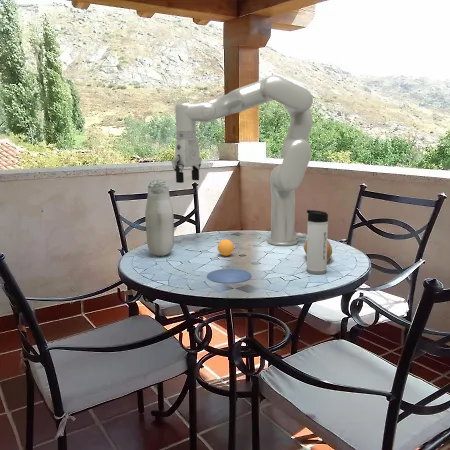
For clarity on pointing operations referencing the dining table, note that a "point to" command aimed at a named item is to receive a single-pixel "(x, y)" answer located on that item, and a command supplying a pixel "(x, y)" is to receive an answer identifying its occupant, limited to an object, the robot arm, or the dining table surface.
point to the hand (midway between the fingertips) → (187, 181)
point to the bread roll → (329, 249)
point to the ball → (225, 247)
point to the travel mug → (317, 242)
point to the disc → (229, 275)
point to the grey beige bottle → (159, 219)
